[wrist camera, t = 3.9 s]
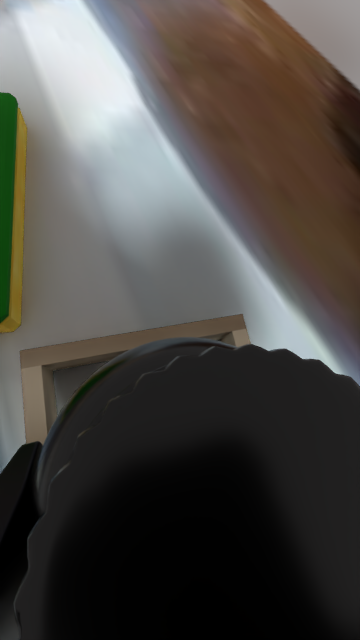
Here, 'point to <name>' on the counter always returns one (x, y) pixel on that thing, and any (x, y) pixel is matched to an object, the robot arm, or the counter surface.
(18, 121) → the dish sponge
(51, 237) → the counter surface
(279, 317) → the counter surface
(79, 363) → the frame
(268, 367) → the supplement bottle
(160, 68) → the counter surface
